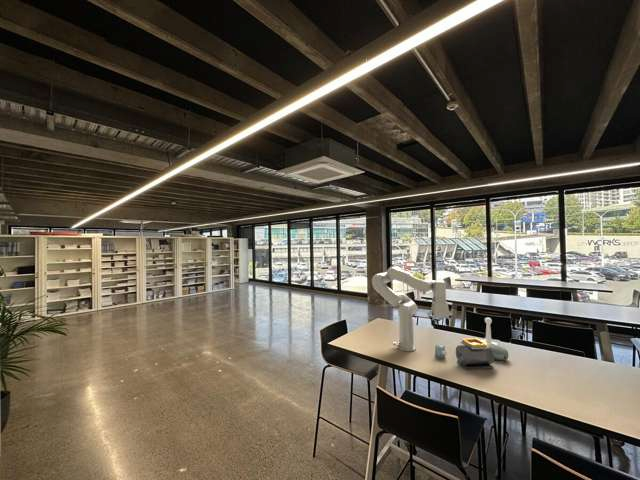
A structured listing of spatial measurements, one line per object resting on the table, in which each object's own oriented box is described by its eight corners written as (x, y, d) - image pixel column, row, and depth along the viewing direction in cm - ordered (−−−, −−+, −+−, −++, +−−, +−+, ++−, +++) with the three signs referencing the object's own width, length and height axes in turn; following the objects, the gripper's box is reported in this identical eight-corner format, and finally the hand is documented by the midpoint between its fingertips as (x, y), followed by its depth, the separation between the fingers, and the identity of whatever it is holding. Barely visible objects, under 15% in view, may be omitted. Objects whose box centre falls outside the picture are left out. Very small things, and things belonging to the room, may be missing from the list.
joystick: (498, 346, 190) (497, 318, 191) (495, 349, 185) (495, 320, 185) (481, 342, 198) (480, 315, 199) (477, 344, 193) (477, 317, 193)
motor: (467, 370, 154) (466, 345, 154) (455, 361, 165) (455, 338, 165) (497, 368, 155) (497, 344, 156) (484, 360, 166) (484, 337, 167)
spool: (511, 353, 169) (505, 341, 168) (510, 365, 163) (504, 352, 161) (487, 352, 179) (481, 341, 177) (485, 363, 172) (479, 351, 170)
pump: (440, 360, 167) (440, 349, 167) (433, 355, 175) (433, 344, 176) (449, 360, 167) (449, 349, 167) (441, 354, 176) (441, 344, 176)
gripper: (429, 301, 169) (430, 327, 169) (455, 300, 171) (456, 327, 170) (424, 298, 176) (424, 324, 176) (448, 298, 178) (449, 323, 177)
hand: (440, 325), depth 173 cm, fingers open, 9 cm apart
